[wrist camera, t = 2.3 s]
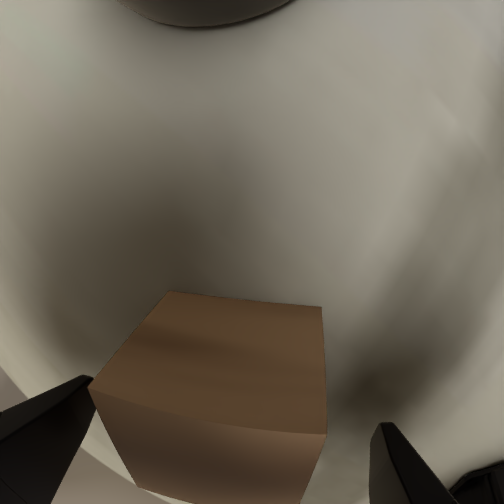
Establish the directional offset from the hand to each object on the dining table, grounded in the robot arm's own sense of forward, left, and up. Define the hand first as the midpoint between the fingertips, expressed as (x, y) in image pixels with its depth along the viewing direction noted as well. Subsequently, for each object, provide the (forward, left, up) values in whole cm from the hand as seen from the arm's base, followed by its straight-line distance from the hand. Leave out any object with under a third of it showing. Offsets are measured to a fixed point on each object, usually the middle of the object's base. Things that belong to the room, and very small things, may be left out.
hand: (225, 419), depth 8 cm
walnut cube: (0, 0, -3) cm, 3 cm away
